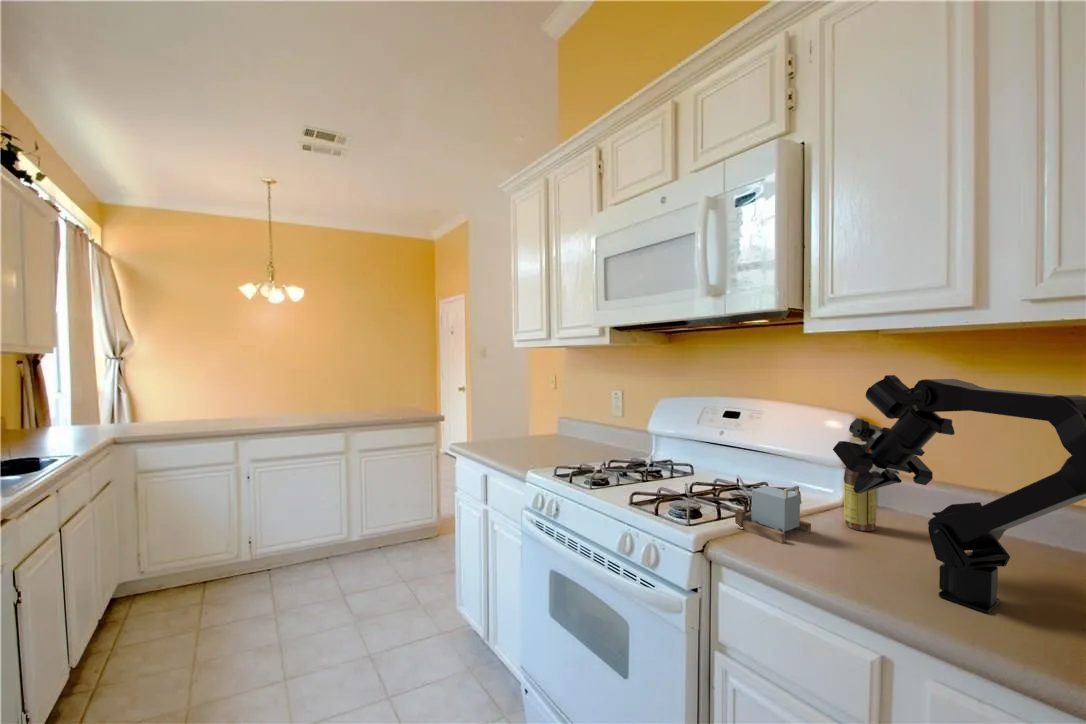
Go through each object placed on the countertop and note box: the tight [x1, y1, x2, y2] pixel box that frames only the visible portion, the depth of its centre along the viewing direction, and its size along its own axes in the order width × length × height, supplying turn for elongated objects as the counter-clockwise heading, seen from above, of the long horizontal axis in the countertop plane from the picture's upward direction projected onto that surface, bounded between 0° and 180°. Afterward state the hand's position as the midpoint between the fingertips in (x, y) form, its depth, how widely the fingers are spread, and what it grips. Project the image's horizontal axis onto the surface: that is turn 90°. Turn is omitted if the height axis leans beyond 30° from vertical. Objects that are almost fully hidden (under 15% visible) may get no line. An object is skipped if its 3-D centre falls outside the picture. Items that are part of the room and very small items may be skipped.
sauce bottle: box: [843, 440, 877, 532], centre depth 115 cm, size 7×6×20 cm
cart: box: [750, 485, 801, 533], centre depth 113 cm, size 8×7×10 cm
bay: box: [734, 508, 812, 544], centre depth 114 cm, size 11×12×4 cm
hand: (856, 491), depth 101 cm, fingers closed
